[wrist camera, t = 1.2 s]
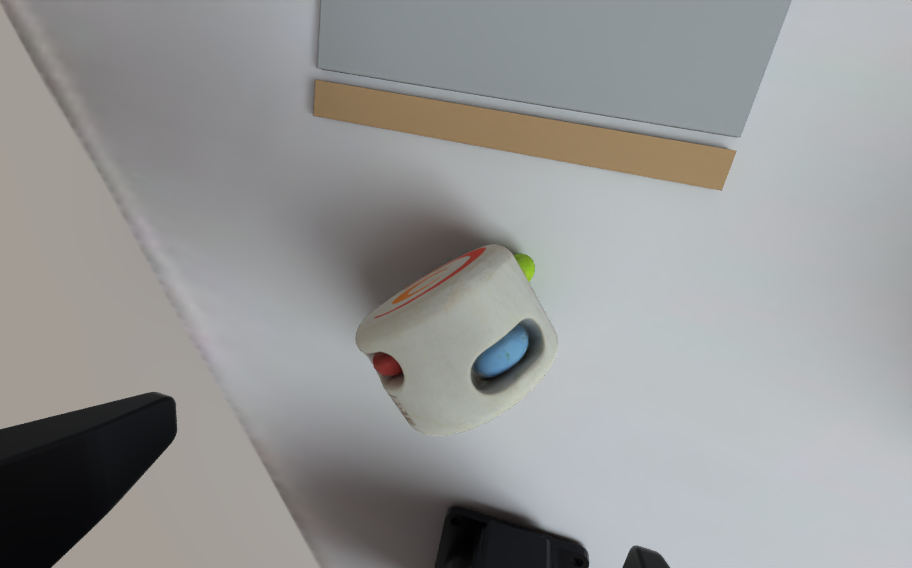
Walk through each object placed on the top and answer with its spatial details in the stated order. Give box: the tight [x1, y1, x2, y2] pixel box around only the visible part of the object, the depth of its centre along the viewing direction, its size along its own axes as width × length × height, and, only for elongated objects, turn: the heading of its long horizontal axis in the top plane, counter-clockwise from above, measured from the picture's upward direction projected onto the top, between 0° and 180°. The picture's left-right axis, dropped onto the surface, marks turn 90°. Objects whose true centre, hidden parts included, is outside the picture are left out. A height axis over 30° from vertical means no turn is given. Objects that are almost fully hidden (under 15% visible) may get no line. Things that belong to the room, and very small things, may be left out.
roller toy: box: [356, 244, 558, 436], centre depth 14 cm, size 4×6×6 cm
